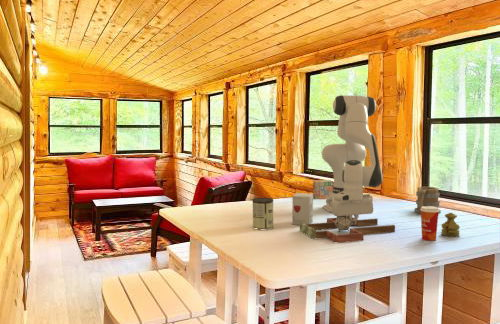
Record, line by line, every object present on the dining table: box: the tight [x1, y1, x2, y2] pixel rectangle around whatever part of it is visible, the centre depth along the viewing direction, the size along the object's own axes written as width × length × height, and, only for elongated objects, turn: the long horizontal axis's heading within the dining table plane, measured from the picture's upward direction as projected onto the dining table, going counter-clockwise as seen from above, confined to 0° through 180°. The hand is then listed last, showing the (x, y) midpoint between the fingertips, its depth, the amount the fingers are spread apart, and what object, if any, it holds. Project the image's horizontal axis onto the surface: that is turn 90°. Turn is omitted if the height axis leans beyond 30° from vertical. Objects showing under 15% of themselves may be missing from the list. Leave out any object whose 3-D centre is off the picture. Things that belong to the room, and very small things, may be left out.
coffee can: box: [251, 197, 274, 230], centre depth 207 cm, size 10×10×14 cm
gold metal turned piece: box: [440, 212, 461, 238], centre depth 191 cm, size 7×7×10 cm
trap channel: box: [299, 216, 396, 243], centre depth 199 cm, size 32×42×4 cm
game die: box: [333, 216, 353, 233], centre depth 199 cm, size 9×8×10 cm
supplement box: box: [291, 192, 314, 226], centre depth 215 cm, size 9×9×15 cm
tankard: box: [414, 186, 441, 215], centre depth 238 cm, size 20×13×15 cm, turn 134°
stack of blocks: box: [312, 179, 334, 200], centre depth 289 cm, size 21×6×12 cm, turn 95°
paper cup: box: [420, 206, 440, 242], centre depth 184 cm, size 8×8×14 cm
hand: (352, 224), depth 200 cm, fingers closed
